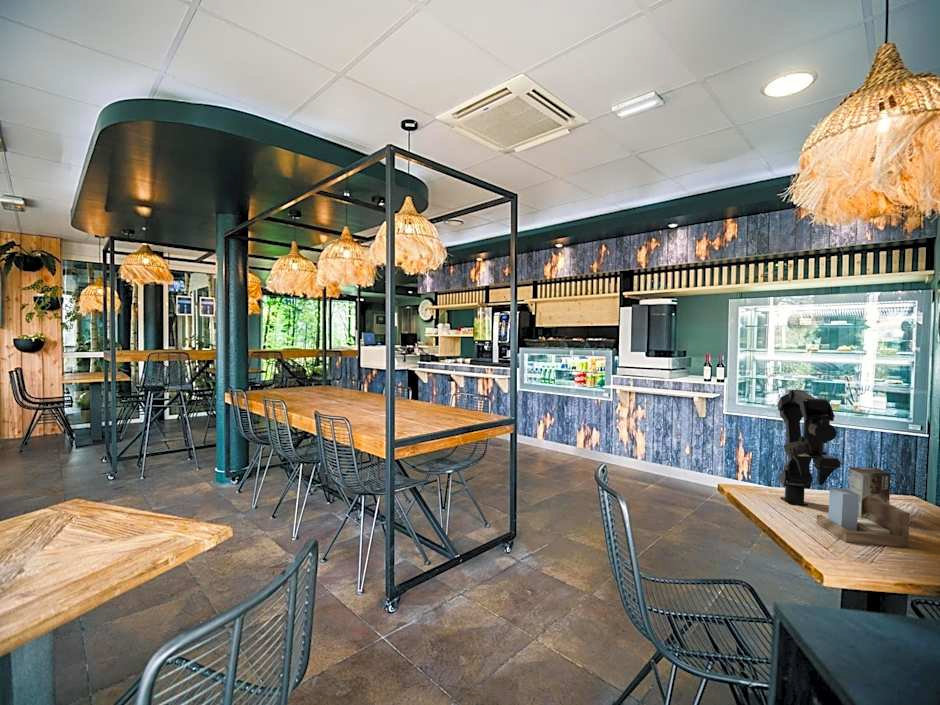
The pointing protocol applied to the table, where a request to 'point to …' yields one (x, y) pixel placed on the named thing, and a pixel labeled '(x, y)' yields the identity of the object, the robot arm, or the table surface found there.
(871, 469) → the coffee box
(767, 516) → the table surface
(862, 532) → the book rack
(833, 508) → the blue-gray rectangular box
